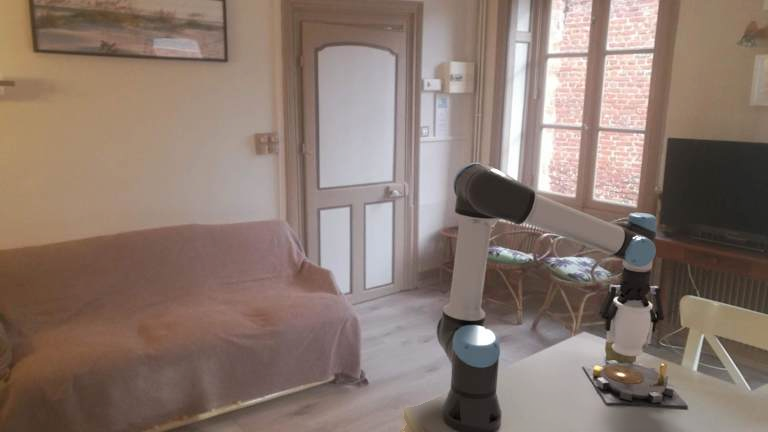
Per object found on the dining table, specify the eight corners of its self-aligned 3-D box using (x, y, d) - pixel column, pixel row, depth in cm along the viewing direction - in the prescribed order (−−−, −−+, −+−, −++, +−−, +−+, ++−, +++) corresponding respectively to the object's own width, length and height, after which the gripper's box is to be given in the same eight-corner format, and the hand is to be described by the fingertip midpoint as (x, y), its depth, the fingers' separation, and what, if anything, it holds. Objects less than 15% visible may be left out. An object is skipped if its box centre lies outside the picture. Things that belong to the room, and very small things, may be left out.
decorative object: (621, 363, 196) (607, 335, 198) (648, 356, 189) (633, 327, 190) (608, 374, 190) (593, 345, 192) (634, 367, 183) (619, 337, 184)
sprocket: (585, 388, 169) (588, 362, 167) (601, 359, 187) (604, 336, 186) (668, 410, 158) (672, 383, 157) (676, 378, 177) (680, 353, 175)
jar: (650, 360, 166) (656, 310, 163) (611, 356, 168) (616, 306, 165) (642, 344, 176) (648, 297, 173) (605, 341, 178) (610, 293, 175)
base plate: (582, 367, 184) (582, 364, 184) (653, 370, 184) (654, 367, 183) (606, 405, 163) (606, 401, 162) (687, 408, 162) (688, 404, 162)
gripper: (600, 271, 163) (592, 345, 168) (684, 273, 163) (673, 348, 168) (591, 262, 171) (584, 334, 175) (671, 265, 170) (662, 337, 175)
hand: (628, 341), depth 172 cm, fingers closed on jar, 10 cm apart
